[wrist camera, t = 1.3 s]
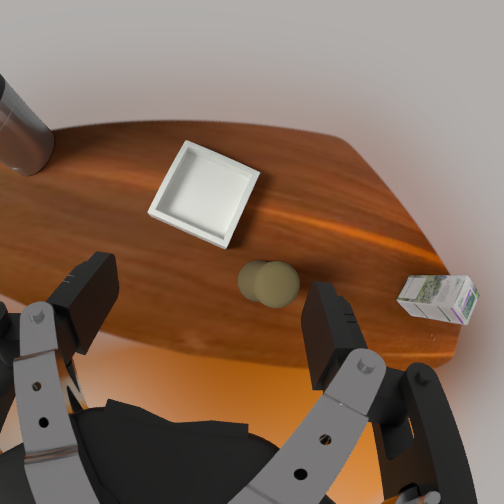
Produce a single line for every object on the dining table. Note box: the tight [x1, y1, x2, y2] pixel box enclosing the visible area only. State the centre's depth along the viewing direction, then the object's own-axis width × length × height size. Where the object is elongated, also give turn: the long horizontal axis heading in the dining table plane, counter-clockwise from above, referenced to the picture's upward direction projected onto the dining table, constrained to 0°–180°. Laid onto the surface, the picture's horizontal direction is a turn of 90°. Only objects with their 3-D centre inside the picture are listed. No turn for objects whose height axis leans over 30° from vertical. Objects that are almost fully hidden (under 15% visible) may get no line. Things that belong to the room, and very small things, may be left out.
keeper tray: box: [148, 140, 260, 249], centre depth 38 cm, size 12×12×3 cm
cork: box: [238, 260, 300, 308], centre depth 34 cm, size 6×6×11 cm
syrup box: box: [396, 275, 479, 325], centre depth 38 cm, size 6×6×14 cm
